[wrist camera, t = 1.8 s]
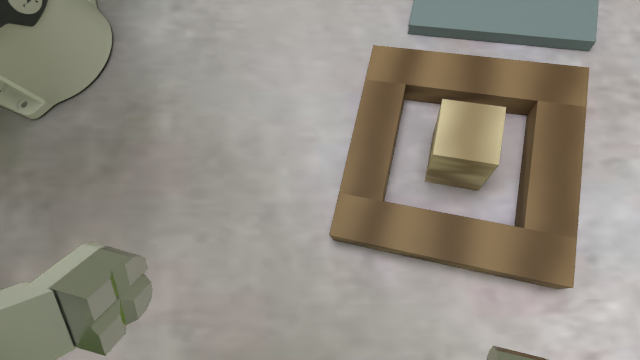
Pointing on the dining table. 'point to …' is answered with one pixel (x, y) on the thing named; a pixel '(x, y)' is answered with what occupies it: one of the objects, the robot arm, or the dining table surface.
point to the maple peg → (465, 144)
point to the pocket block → (535, 179)
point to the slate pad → (509, 21)
